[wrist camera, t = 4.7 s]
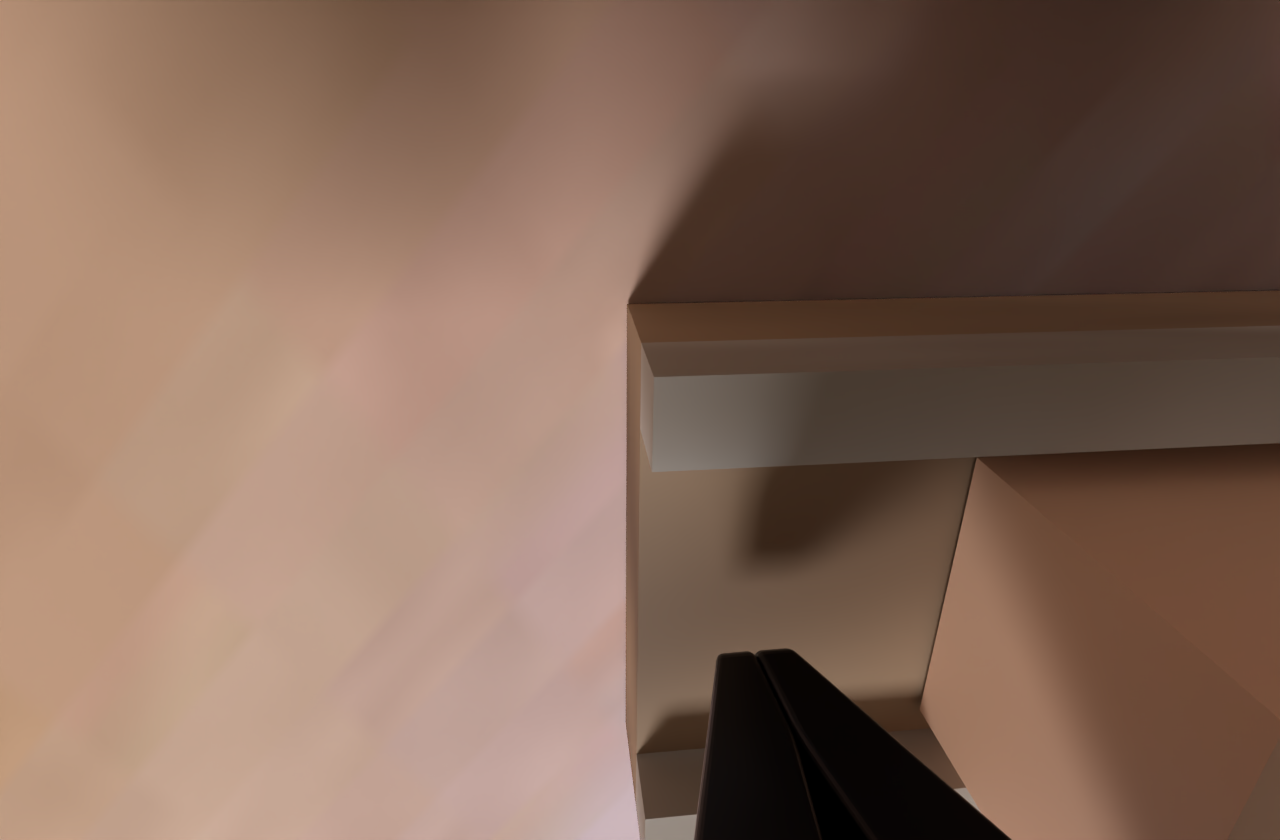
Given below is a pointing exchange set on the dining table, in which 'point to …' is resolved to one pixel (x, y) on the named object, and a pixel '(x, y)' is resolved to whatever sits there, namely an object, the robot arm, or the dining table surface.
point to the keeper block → (1116, 645)
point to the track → (874, 477)
